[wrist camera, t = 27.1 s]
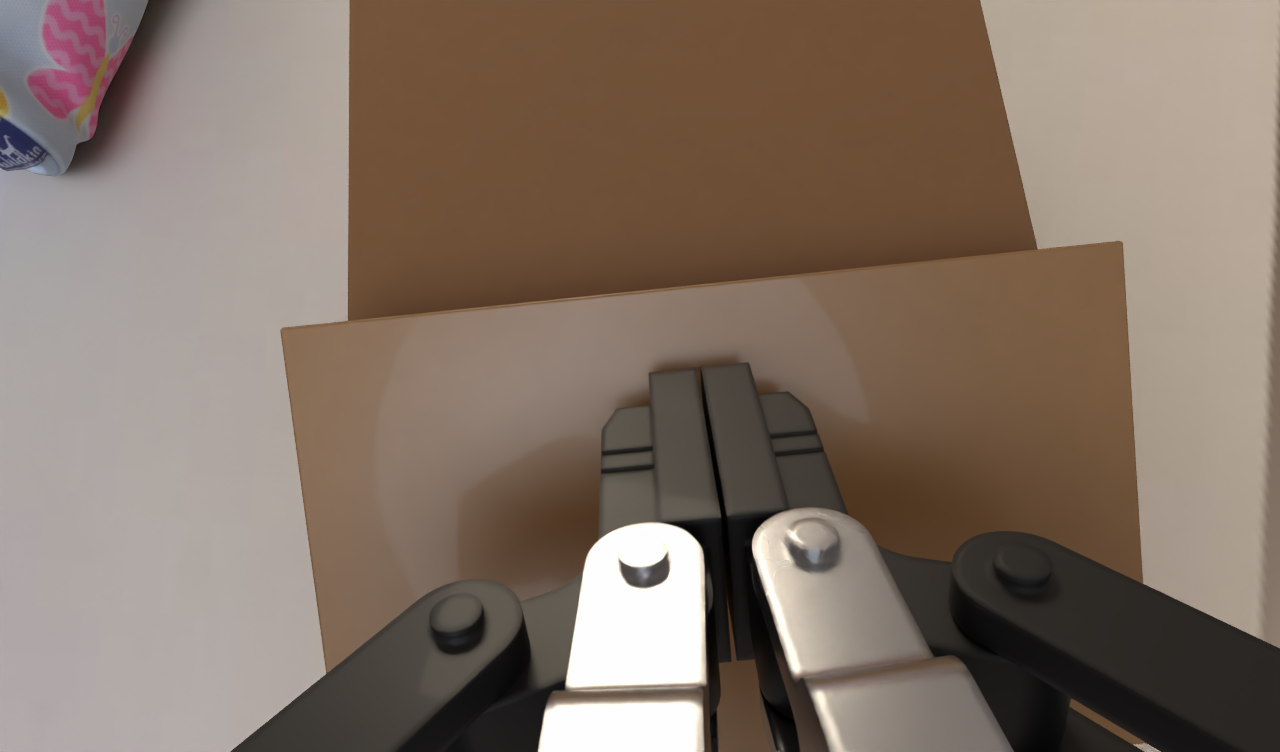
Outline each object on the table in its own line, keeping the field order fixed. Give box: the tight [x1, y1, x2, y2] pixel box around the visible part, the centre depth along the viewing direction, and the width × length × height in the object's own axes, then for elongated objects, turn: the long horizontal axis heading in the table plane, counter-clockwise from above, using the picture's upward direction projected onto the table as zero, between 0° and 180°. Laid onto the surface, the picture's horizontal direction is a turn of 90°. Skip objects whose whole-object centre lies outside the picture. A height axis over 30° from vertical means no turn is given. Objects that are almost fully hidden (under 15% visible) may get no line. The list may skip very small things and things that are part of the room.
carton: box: [348, 0, 1038, 321], centre depth 21 cm, size 16×13×10 cm
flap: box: [281, 241, 1146, 752], centre depth 14 cm, size 8×13×1 cm, turn 95°
